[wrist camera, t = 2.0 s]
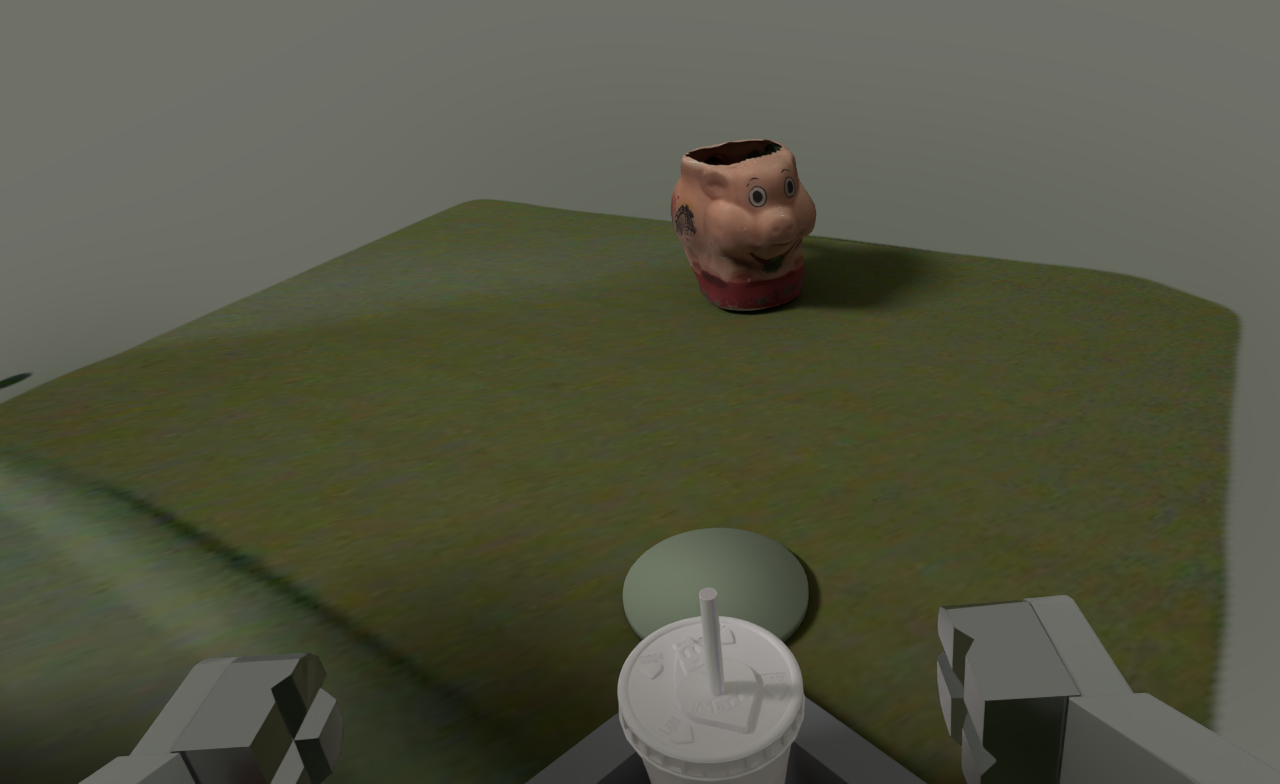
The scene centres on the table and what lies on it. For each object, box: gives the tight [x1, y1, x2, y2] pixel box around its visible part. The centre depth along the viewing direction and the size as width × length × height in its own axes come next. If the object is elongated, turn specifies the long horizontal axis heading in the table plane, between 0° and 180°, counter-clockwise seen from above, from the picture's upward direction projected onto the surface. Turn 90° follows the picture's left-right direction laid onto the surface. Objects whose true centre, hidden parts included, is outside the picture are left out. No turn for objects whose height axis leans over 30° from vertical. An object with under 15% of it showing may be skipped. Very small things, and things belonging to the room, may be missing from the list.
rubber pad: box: [623, 528, 809, 643], centre depth 46 cm, size 10×10×1 cm
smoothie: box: [617, 588, 805, 784], centre depth 30 cm, size 6×6×14 cm
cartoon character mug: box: [671, 139, 816, 311], centre depth 79 cm, size 20×12×14 cm, turn 24°
